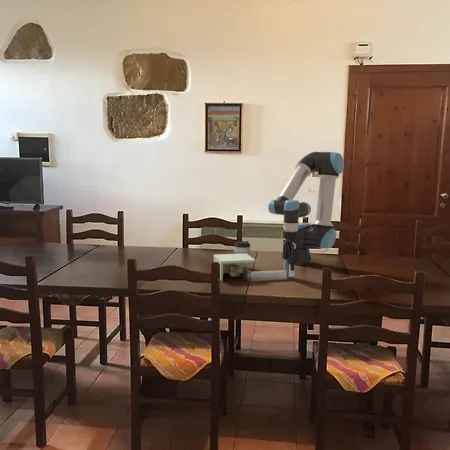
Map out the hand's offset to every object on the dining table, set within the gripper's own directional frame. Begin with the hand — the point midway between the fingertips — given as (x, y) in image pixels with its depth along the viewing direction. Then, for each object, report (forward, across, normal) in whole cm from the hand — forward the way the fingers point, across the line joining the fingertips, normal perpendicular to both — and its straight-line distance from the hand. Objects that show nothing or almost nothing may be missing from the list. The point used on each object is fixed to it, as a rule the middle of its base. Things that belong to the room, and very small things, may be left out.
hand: (288, 274), depth 264 cm
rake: (+2, -3, -11) cm, 11 cm away
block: (+2, -11, -26) cm, 28 cm away
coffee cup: (+2, -25, -18) cm, 31 cm away
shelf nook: (+2, -9, -27) cm, 28 cm away
